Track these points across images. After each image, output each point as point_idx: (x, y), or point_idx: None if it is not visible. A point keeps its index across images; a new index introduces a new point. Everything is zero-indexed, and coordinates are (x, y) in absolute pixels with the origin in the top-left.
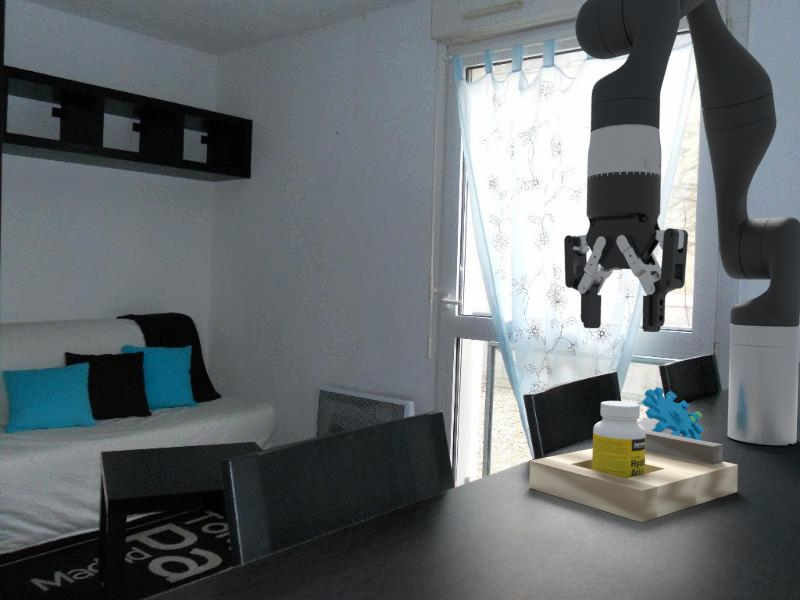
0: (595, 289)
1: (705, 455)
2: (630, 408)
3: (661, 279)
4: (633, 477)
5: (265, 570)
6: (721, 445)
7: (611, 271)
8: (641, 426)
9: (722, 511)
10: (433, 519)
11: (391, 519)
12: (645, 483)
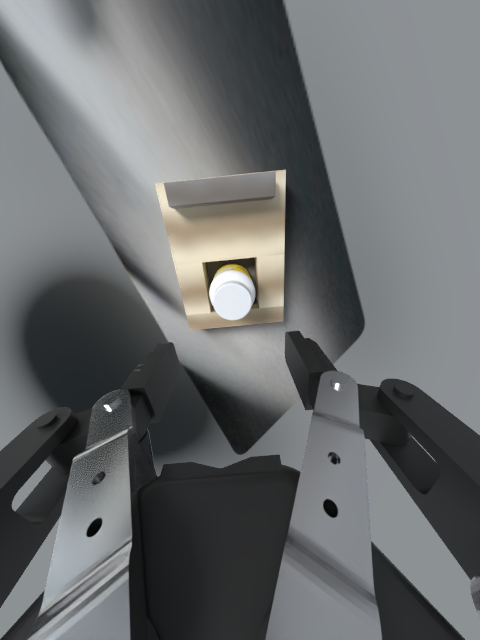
0: (139, 415)
1: (265, 198)
2: (250, 308)
3: (377, 445)
4: (260, 301)
5: (237, 442)
6: (275, 174)
7: (131, 449)
8: (249, 285)
9: (297, 247)
10: (219, 389)
11: (211, 401)
12: (274, 306)
